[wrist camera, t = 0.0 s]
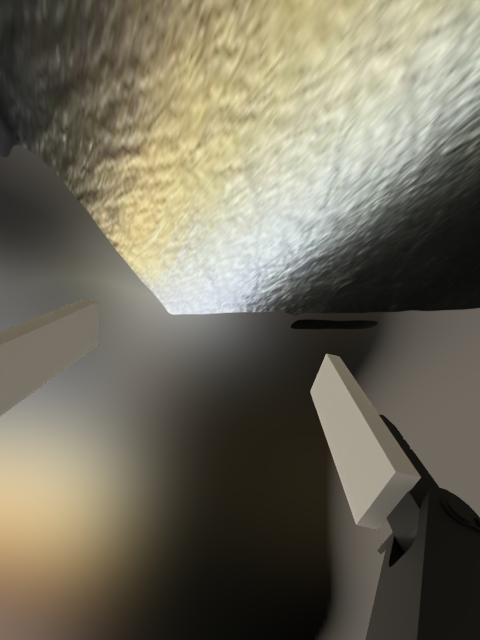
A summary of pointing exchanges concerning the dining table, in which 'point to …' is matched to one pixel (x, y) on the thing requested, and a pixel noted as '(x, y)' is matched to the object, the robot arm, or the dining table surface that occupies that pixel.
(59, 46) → the dining table surface
